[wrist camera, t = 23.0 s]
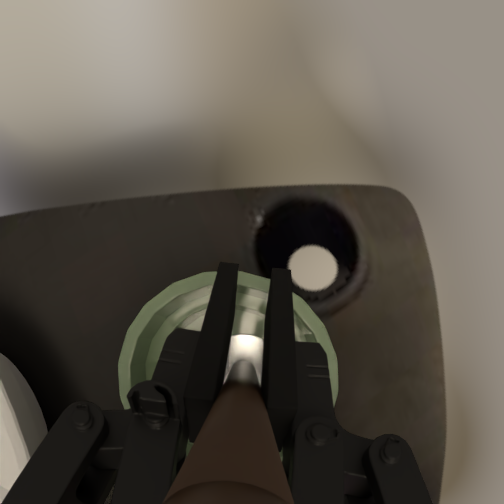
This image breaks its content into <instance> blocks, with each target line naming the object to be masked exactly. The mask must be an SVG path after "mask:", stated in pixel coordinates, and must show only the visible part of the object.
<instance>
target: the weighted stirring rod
mask: <svg viewBox="0 0 504 504" xmlns="http://www.w3.org/2000/svg"><path fill="white" fill-rule="evenodd" d="M263 340H264V339H262V338H260V337H258V336H255V335H252V334H234V335H231V340H230V346H229V352H228V359H227V365H226V371H225V377H224V383H223V386H222V388H221V390H220V392H219V394H218V396H217V398H216V400H215V402H214V404H213V406H212V408H211V410H210V412H209V414H208V416H207V418H206V420H205V422H204V424H203V426H202V428H201V430H200V432H199V434H198V436H197V438H196V440H195V442H194V444H193V446H192V448H191V450H190V452H189V453H188V455H187V457H186V459H185V461H184V463H183V465H182V467H181V469H180V471H179V473H178V475H177V477H176V478H175V480H174V482H173V484H172V486H171V488H170V490H169V492H168V494H167V496H166V497H165V499H164V501H163V503H162V504H294V501H293V498H292V494H291V491H290V488H289V485H288V481H287V478H286V475H285V471H284V468H283V465H282V461H281V458H280V454H279V451H278V448H277V444H276V441H275V437H274V434H273V430H272V427H271V423H270V420H269V416H268V413H267V409H266V406H265V402H264V398H263V395H262V391H261V374H262V357H263Z"/></svg>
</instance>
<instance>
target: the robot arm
mask: <svg viewBox="0 0 504 504" xmlns="http://www.w3.org/2000/svg"><path fill="white" fill-rule="evenodd" d="M238 267H239V264H234V263H225V262H220V264H219V267H218V271H217V274H216V278H215V281H214V285H213V288H212V292H211V295H210V299H209V302H208V306H207V310H206V313H205V317H204V320H203V324H202V328H201V331H195V330H188V329H181V328H176V329H175V330H174V331H172V332H171V333H170V334H169V335H168V336H167V338H166V340H165V343H164V346H163V348H162V351H161V354H160V356H159V360H158V362H157V365H156V367H155V370H154V373H153V376H152V378H151V380H146V381H143V382H140V383H137V384H136V385H135V386H133V387H132V388H131V389H130V390H129V392H128V394H127V399H128V402H129V405H130V408H129V409H125V410H110V411H101V409H100V408H99V407H98V406H97V405H95V404H94V403H92V402H88V401H77V402H75V403H72V404H70V405H69V406H68V407H67V408H66V409H65V410H64V411H63V412H62V414H61V415H60V417H59V418H58V419H57V421H56V422H55V424H54V425H53V426H52V428H51V429H50V431H49V432H48V433H47V435H46V436H45V438H44V439H43V441H42V442H41V444H40V445H39V446H38V448H37V449H36V451H35V452H34V454H33V455H32V457H31V458H30V460H29V461H28V463H27V464H26V466H25V467H24V469H23V470H22V472H21V473H20V475H19V476H18V478H17V479H16V481H15V482H14V484H13V486H12V487H11V489H10V490H9V492H8V493H7V495H6V497H5V498H4V500H3V501H2V503H1V504H104V502H105V500H106V498H107V496H108V494H109V492H110V490H111V489H112V487H113V485H114V483H115V486H114V491H113V495H112V500H111V504H162V503H163V501H164V499H165V497H166V496H167V494H168V492H169V490H170V488H171V486H172V484H173V482H174V480H175V478H176V477H177V475H178V473H179V471H180V469H181V467H182V465H183V463H184V461H185V459H186V457H187V454H186V448H187V443H188V439H189V442H190V443H194V442H195V440H196V438H197V436H198V434H199V432H200V430H201V428H202V426H203V424H204V422H205V420H206V418H207V416H208V414H209V412H210V410H211V408H212V406H213V404H214V402H215V400H216V398H217V396H218V394H219V392H220V390H221V388H222V386H223V383H224V377H225V371H226V365H227V359H228V352H229V346H230V340H231V334H232V328H233V322H234V316H235V304H236V292H237V279H238ZM261 391H262V395H263V398H264V402H265V406H266V409H267V413H268V416H269V420H270V423H271V427H272V430H273V434H274V437H275V441H276V444H277V448H278V451H279V452H281V450H282V448H283V460H282V465H283V468H284V471H285V475H286V478H287V481H288V485H289V488H290V491H291V494H292V498H293V501H294V504H433V503H432V501H431V498H430V495H429V493H428V490H427V487H426V485H425V482H424V480H423V477H422V475H421V472H420V470H419V467H418V465H417V462H416V460H415V457H414V455H413V453H412V450H411V448H410V446H409V445H408V443H407V442H406V441H405V440H404V439H403V438H401V437H400V436H397V435H393V434H384V435H381V436H379V437H377V438H376V439H375V440H371V439H367V438H363V437H359V436H356V435H353V434H351V433H349V432H347V431H346V430H344V429H343V428H342V427H341V426H340V425H339V423H338V422H337V420H336V417H335V413H334V405H333V397H332V389H331V381H330V373H329V369H328V359H327V353H326V352H325V350H324V349H323V347H322V346H321V344H320V343H315V342H302V341H295V328H294V310H293V294H292V279H291V270H288V269H279V268H272V273H271V280H270V287H269V293H268V300H267V307H266V313H265V321H264V340H263V357H262V374H261ZM115 481H116V482H115Z"/></svg>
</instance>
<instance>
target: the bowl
mask: <svg viewBox="0 0 504 504" xmlns="http://www.w3.org/2000/svg"><path fill="white" fill-rule="evenodd" d="M47 433H48V430H47V425H46V422H45V420H44V417H43V414H42V411H41V408H40V406H39V404H38V402H37V399H36V397H35V395H34V393H33V391H32V390H31V388H30V386H29V385H28V383H27V381H26V379H25V378H24V377H23V375H22V374H21V373H20V371H19V370H18V369H17V368H16V366H15V365H14V364H13V363H12V362H11V361H10V360H9V359H8V358H7V357H6V356H4V355H3V354H1V353H0V504H1V503H2V501H3V500H4V498H5V497H6V495H7V493H8V492H9V490H10V489H11V487H12V486H13V484H14V482H15V481H16V479H17V478H18V476H19V475H20V473H21V472H22V470H23V469H24V467H25V466H26V464H27V463H28V461H29V460H30V458H31V457H32V455H33V454H34V452H35V451H36V449H37V448H38V446H39V445H40V444H41V442H42V441H43V439H44V438H45V436H46V435H47Z"/></svg>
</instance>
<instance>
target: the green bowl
mask: <svg viewBox="0 0 504 504" xmlns="http://www.w3.org/2000/svg"><path fill="white" fill-rule="evenodd" d="M216 274H217V272H203V273H200V274H197V275H194V276H192V277H189V278H186V279H183V280H180V281H177V282H175V283H173V284H171V285H170V286H168V287H167V288H166V289H164V290H163V291H162V292H160V293H159V294H158V295H156V296H155V297H154V298H153V299H151V300H150V301H149V302H147V303H146V304H145V305H144V307H143V308H142V309H141V311H140V312H139V314H138V315H137V317H136V318H135V320H134V321H133V323H132V324H131V326H130V327H129V329H128V330H127V333H126V336H125V340H124V343H123V347H122V350H121V354H120V358H119V361H118V362H119V363H118V374H119V392H120V398H121V401H122V404H123V406H124V409H129V408H130V405H129V402H128V399H127V394H128V392H129V390H130V389H131V388H132V387H133V386H135V385H136V384H137V383H140V382H143V381H146V380H151V378H152V376H153V373H154V370H155V367H156V365H157V362H158V360H159V356H160V354H161V351H162V348H163V346H164V343H165V340H166V338H167V336H168V335H169V334H170V333H171V332H172V331H174V330H175V329H176V328H181V329H188V330H195V331H201V328H202V324H203V320H204V317H205V313H206V310H207V306H208V302H209V299H210V295H211V292H212V288H213V285H214V281H215V278H216ZM270 280H271V279H267V278H264V277H260V276H257V275H253V274H249V273H246V272H242V271H240V272H239V271H238V279H237V292H236V304H235V316H234V322H233V328H232V334H231V335H234V334H252V335H255V336H258V337H260V338H262V339H264V321H265V313H266V307H267V300H268V293H269V287H270ZM292 294H293V310H294V328H295V341H302V342H315V343H320V344H321V346H322V347H323V349H324V350H325V352H326V353H327V359H328V369H329V373H330V381H331V389H332V397H333V405H334V406H335V402H336V399H337V395H338V392H337V391H338V390H339V387H338V361H337V356H336V353H335V350H334V348H333V345H332V343H331V340H330V337H329V335H328V332H327V330H326V327H324V324H323V323H322V322H321V320H320V319H319V318H318V317H317V315H316V314H315V313H314V312H313V311H312V309H311V308H310V307H309V306H308V304H307V303H306V302H305V301H304V300H303V299H302V298H301V297H299V296H297V295H296V294H294V293H293V292H292ZM193 444H194V443H190V442H189V439H188V443H187V448H186V454H187V455H188V453H189V452H190V450H191V448H192V446H193ZM279 454H280V458H281V461H282V460H283V448H282V450H281V452H279Z"/></svg>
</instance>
